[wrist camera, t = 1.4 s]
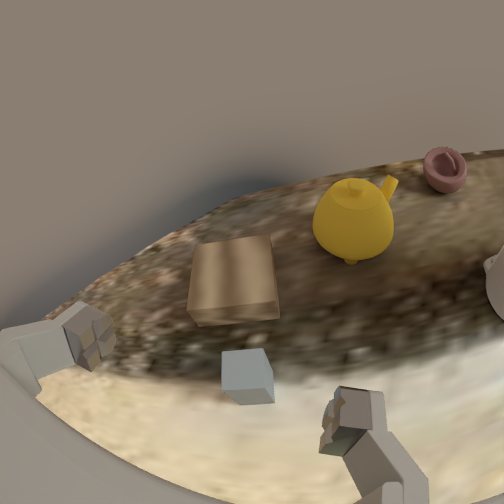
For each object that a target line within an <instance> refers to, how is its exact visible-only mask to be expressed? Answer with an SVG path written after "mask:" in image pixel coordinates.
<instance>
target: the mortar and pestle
mask: <svg viewBox="0 0 504 504" xmlns="http://www.w3.org/2000/svg"><path fill="white" fill-rule="evenodd" d="M423 171H424V175H425V178H426V180H427V181H428V183H429V184H430V185H431V186H432V187H433V188H434V189H435V190H437V191H439V192H441V193H453V192H456V191H457V190H459V189H460V188H461V187H462V186H463V184H464V182H465V180H466V176H467V168H466V162H465V160H464V158H463V157H462V156H461V155H460V153H458V152H457V151H455V150H453V149H451V148H448V147H438V148H434V149H432V150H431V151H430V152H428V154H427V155H426V156H425V158H424V162H423Z"/></svg>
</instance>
